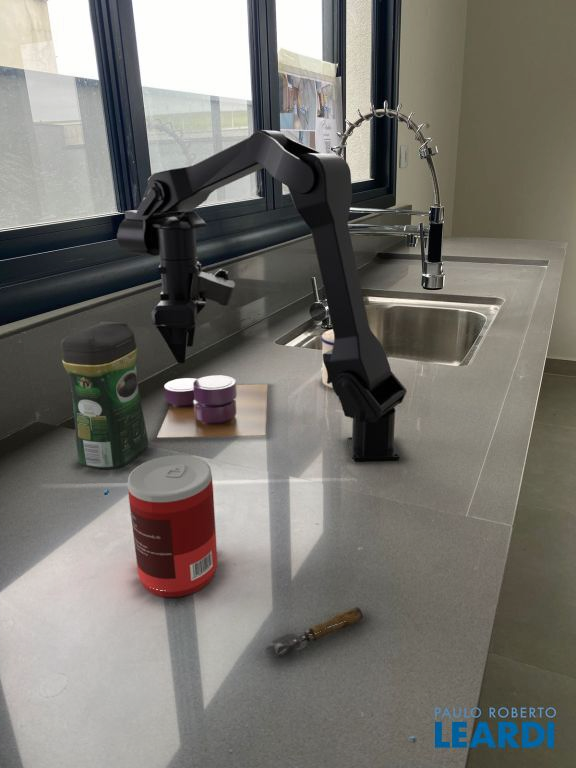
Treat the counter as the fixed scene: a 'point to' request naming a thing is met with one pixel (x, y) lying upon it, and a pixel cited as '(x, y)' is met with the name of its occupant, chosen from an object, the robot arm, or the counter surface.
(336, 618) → the can opener
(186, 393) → the purple hockey puck
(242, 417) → the placemat
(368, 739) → the counter surface
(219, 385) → the purple puck
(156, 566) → the canned food
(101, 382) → the coffee jar
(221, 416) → the plum dish bottom
